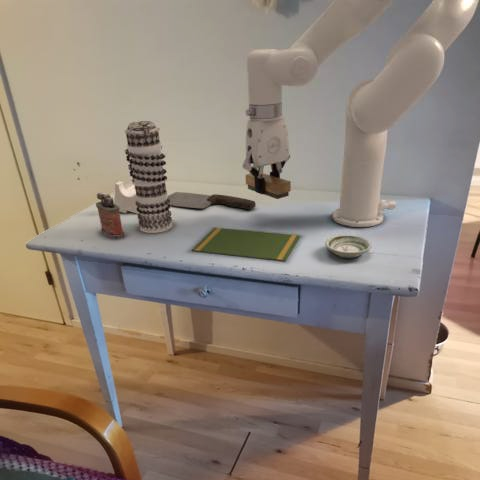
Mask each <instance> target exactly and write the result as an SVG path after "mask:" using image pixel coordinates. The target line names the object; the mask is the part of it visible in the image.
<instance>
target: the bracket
mask: <svg viewBox="0 0 480 480" xmlns="http://www.w3.org/2000/svg"><path fill="white" fill-rule="evenodd" d="M114 188H115V190H114V204H116V205H117V206H119V213H123V214H127V213H128V212H131V213H134V214H137V215H138V214H139V212H137V207H138V206H136V203H135V202H136V201H137V200H136V190H135V185H133V184H132V185H131V186H129V187H128V188H126V189H125V187H124V181H121V180H119V181H117V182H115V185H114Z"/></svg>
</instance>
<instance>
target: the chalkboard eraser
mask: <svg viewBox="0 0 480 480" xmlns="http://www.w3.org/2000/svg"><path fill="white" fill-rule="evenodd" d="M263 178H265V194H263V195H264V196H266V197H270V198H273V199H275V200H279V199H282V198H287V197H289V195H290V194H289V193H290V192H291V190H292V189H291V188H292V186H291V185H292V183H291V182H292V181H291V180H287V179H284V178H281V177H280V178H278V177H274V176H271V175H270V174H267V173H264V172H263ZM245 184H246V186H247V189H248V190H250V191H253V192H255V193H257V192H256V191H255V177H253V176H252V174H251V173H247V174H245Z"/></svg>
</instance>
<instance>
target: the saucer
mask: <svg viewBox="0 0 480 480" xmlns="http://www.w3.org/2000/svg"><path fill="white" fill-rule="evenodd" d="M324 243H325V244H324V245H325V247H326V248H327V250H328V251H330V252H331V253H332V254H334V255H336V256H337V257H339V258H343V259H353V258H357V257H359V256H362V255H364V254H365V253H367V252H368V251H370V250H371V249H372V243H371V242H370V241H369V240H368V239H367V238H363V237H361V236H356V235H351V234H341V235H340V234H339V235H335V236H331V237H329V238H327V239H326V241H325V242H324Z"/></svg>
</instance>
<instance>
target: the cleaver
mask: <svg viewBox="0 0 480 480" xmlns="http://www.w3.org/2000/svg"><path fill="white" fill-rule="evenodd" d="M168 198H169V200H170V202H169V203H168V204H170V206H173V207H174V206H175V207H181V208H182V207H183V208H191V209H205V208H207V207H209V206H212V205H219V204H220V205H224V206H227V207H230V208H231V207H232V208H241V209H243V210H244V209H245V210H248V211H250V210H253V209H255V208H256V205H257V204H256V201H255V200H252V199H248V198H243V197H237V196H231V195H225V194H218V193H215V194H214V193H213V194H212V195H211V194H202V193H193V192H184V191H175V192H173V193H171V194H168Z"/></svg>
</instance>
